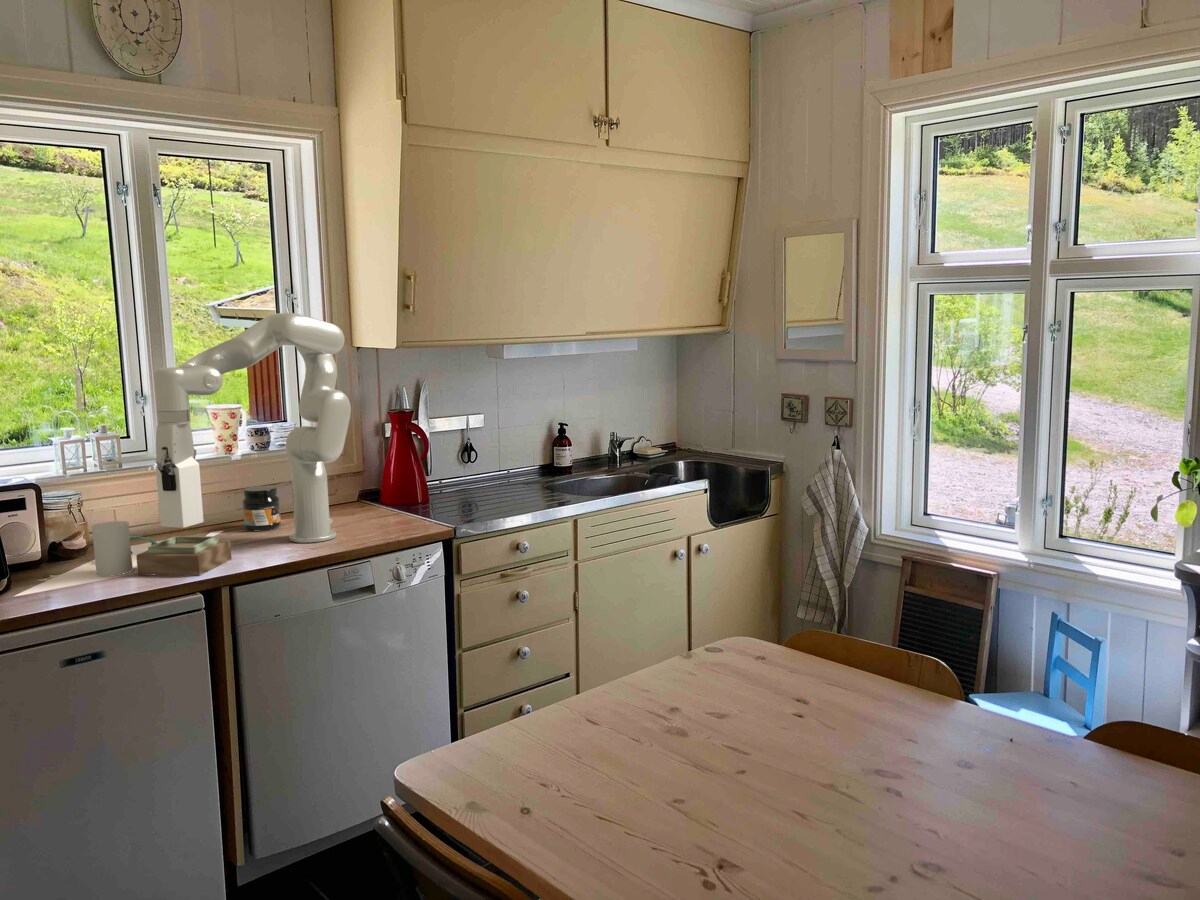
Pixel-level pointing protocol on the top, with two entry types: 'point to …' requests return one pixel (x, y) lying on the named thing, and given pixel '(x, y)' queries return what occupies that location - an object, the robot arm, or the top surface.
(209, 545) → the stand
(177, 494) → the milk carton
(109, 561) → the cup
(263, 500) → the supplement container
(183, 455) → the robot arm
